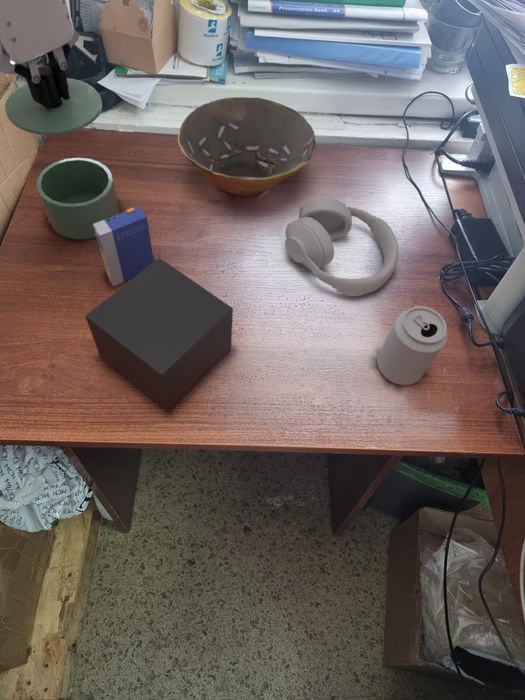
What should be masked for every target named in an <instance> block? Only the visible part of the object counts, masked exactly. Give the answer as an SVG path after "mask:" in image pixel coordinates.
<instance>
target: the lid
mask: <svg viewBox="0 0 525 700" xmlns="http://www.w3.org/2000/svg"><path fill="white" fill-rule="evenodd" d="M38 70H39V74H40V78H41V79H43V80H44V81H45V82H46V85H47V88H48V91H49V95H50V98H51V102H52V105H53V106H52V108H51V109H47V108H45V107H44V106H42V105H41V104H39V103H37V102H35V101H34V99H33V98H32V95H31V92H30V89H29V86H28V83H27V82H26V83H25V84H23V85H21V86H19V87H18V88H16V89H15V90H14V91H12V92H11V94H10V95H9V96H8V98H7V99H6V101H5V104H4V105H5V106H4V111H5V114H6V116H7V118H8V121H10V123H11V124H12V125H14V126H15V127H16V128H18V129H20V130H22V131H25V132H28V133H30V134H33V135H34V134H35V135H40V136H59V135H66V134H70V133H74V132H77V131H79V130H82V129H85V128H86V127H88V126H90V124H92V123H94V122H95V121H96V120H97V119H98V118H99V116H100V114H101V112H102V108H103V101H102V97H101V95H100V93H99V92H98V91H97V90H96V89H95V88H94V87H93V86H91V84H88V83H86V82H84V81H81V80H78V79H75V78H74V79H73V78H67V77H66V79H67V83H68V87H69V88H68V91H69V95H70V99H68V100H65V99H63V98H61V95H60V91H59V88H58V84H57V80H56V76H55V73H54V69H53V68H52V67H49V66H46V65H41V66H38Z"/></svg>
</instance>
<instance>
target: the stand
mask: <svg viewBox="0 0 525 700" xmlns="http://www.w3.org/2000/svg"><path fill="white" fill-rule="evenodd" d="M233 312H234V308H233V307H232V306H230V305H229V304H227V303H226V302H225V301H223V300H222V299H220V298H218V297H217V296H216V295H214V294H213V293H211V292H210V291H208V290H207V289H205V288H204V287H203V286H201V285H199V284H198V283H197V282H195V281H194V280H193V279H191V278H190V277H188V276H187V275H185V274H183V272H181V271H180V270H178V269H177V268H175V267H174V266H173V265H171V264H170V263H168V262H166V261H165V260H164V259H162V258H161V257H158V258H157V259H155V260H154V262H153V263H152V264H151V265H149V266H148V267H147V268H145V269H144V270H143V271H142V272H140V273H139V274H138V275H137V276H135V277H133V278H131V279H129V281H127V282H126V283H125V284H124V285H122V286H121V287H120V288H118V289H117V290H116V291H114V292H113V293H112V294H111V295H110V296H108V297H107V298H106V299H104V301H102V302H101V303H100V304H98V305H97V306H96V307H94V308H92V310H90V311H89V312H88V313H87V314H85V316H84V317H85V319H86V322H87V325H88V328H89V330H90V334H91V336H92V338H93V341H94V344H95V346H96V347H95V348H96V349H97V352H98V355H99V357H100V358H99V359H101V360H102V361H103V362H105V364H107V365H108V366H109V367H111V368H112V369H113V370H114V371H116V373H118V374H119V375H121V376H122V377H123V378H124V379H126V381H128V382H129V383H130V384H132V385H133V386H134V387H135V388H136V389H138V390H139V391H141V393H143V394H144V395H145V396H147V397H148V398H149V399H150V400H152V401H153V402H154V403H155V404H157V405H158V406H159V407H161V408H162V409H163V410H164V411H166V412H167V413H170V412H171V411H172V410H173V409H174V408H175V407H176V406H177V405H178V404H179V403H180V402H181V401H182V400H183V399H184V398H185V397H186V396H187V395H188V394H189V393H190V392H191V391H192V390H194V388H195V387H196V386H198V384H199V383H200V382H201V381H202V380H204V378H205V377H206V376H207V375H208V374H209V373H210V372H211V371H212V370H213V369H214V368H215V367H216V366H217V365H218V364H220V362H221V361H222V360H223V359H224V358H225V357H226V356H228V354H229V353H230V352H231V351H232V336H233V335H232V333H233V318H234V317H233V316H234V315H233V314H234V313H233Z"/></svg>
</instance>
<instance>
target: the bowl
mask: <svg viewBox="0 0 525 700" xmlns="http://www.w3.org/2000/svg"><path fill="white" fill-rule="evenodd" d="M316 142H317V141H316V135H315V131H314V129H313V127H312V126H311V124H310V122H308V121H307V119H306V118H305V116H303V115H302V114H300V112H298V111H296V110H295V109H293V108H291V107H289V106H287V105H285V104H282V103H279V102H276V101H274V100H270V99H267V98H261V97H245V96H239V97H238V96H237V97H236V96H235V97H224V98H219V99H216V100H213V101H210V102H207V103H204V104H202V105H199V106H198V107H196V108H195V109H194V110H192V111H191V112H190V113H189V114H188V115H187V116H186V117H185V118H184V120H183V121H182V123H181V124H180V127H179V128H178V136H177V144H178V146H179V148H180V150H181V152H182V154H183V155H184V156H185V158H186V159H187V160H188V161H189V163H191V164H192V165H193V166H194V167H195V168H196V169H197V170H198V171H199V172H200V174H202V175H203V176H204V177H205V178H206V179H207V180H208V181H209V182H211V183H212V184H213V185H215V186H216V187H217V188H219V189H220V190H222V191H224V192H227V193H230V194H233V195H236V196H243V197H244V196H245V197H247V196H255V195H259V194H260V193H262V192H264V191H266V190H268V189H269V188H272V187H273V186H275V185H277V184H278V183H280V182H282V181H284V180H286V179H288V178H289V177H291V176H293V175H294V174H296V173H297V172H298V171H300V170H301V169H303V168H304V167H305V166H306V165H307V164H309V162H310V161H311V160H312V157H313V153H314V151H315V149H316V144H317V143H316Z"/></svg>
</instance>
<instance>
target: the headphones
mask: <svg viewBox="0 0 525 700" xmlns="http://www.w3.org/2000/svg"><path fill="white" fill-rule="evenodd" d="M353 217H354V218H357V219H358V220H360V221H361V222H363V223H364V224H365V225H367V227H369V230H370V232H371V234H372V235H373V236H374V238H375V240H376V241H377V243H378V245H379V247H380V249H381V251H382V255H383V264H382V266H381V269H380V270H379V271H377V272H376V273H375V274H373V275H371V276H368V277H362V278H347V277H346V278H345V277H342V278H341V277H338V276H334V275H333V274H330V273H328V272H326V271H323V270H321V269H322V268H324V267H326V266H327V265H329V264H330V263H331V262H332V261H333V260H334V255H335V248H334V247H335V246H334V244H333V240H337V239H342V238H343V237H344V236H347V235H348V233H349V232H350V231H351V229H352V225H353ZM284 244H285V249H286V252H287V253H288V255H289V257H291V259H292V260H293V261H295V262H296V263H299V264H301V265H302V266H304V267H306V268H308V269H309V271H310V272H311V273H312V274H313V275H314V276H315V277H316V278H318V280H319V281H321V282H323V283H324V284H326V285H328V286H330V287H332V288H333V289H334V290H336V291H335V292H337V293H339V294H340V295H343V296H347V297H359V296H360V297H361V296H363V295H367V294H370V293H373V292H376V291H377V290H378V289H379V288H381V287H382V286H383V285H385V284H386V282H387V281H388V280H389V279H391V277H392V275H393V273H394V272H395V270H396V268H397V265H398V259H399V244H398V241H397V238H396V235H395V232H394V231H393V229H392V228H391V226H390V224H388V222H386V221H385V220H384V219H382V218H381V217H377V216H376V215H374V214H371V213H369V212H368V211H365V210H364V209H360V208H356V207H350V206H347V205H346V204H345V203H343V202H341V200H338V199H335V198H332V197H327V196H319V197H314V198H311V199H308V200H306V201H305V202H303V203H302V204H301V206H300V207H299V212H298V218H297V219H295V220H293V221H291V222H289V223H288V224H287V225H286V228H285V242H284Z"/></svg>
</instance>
